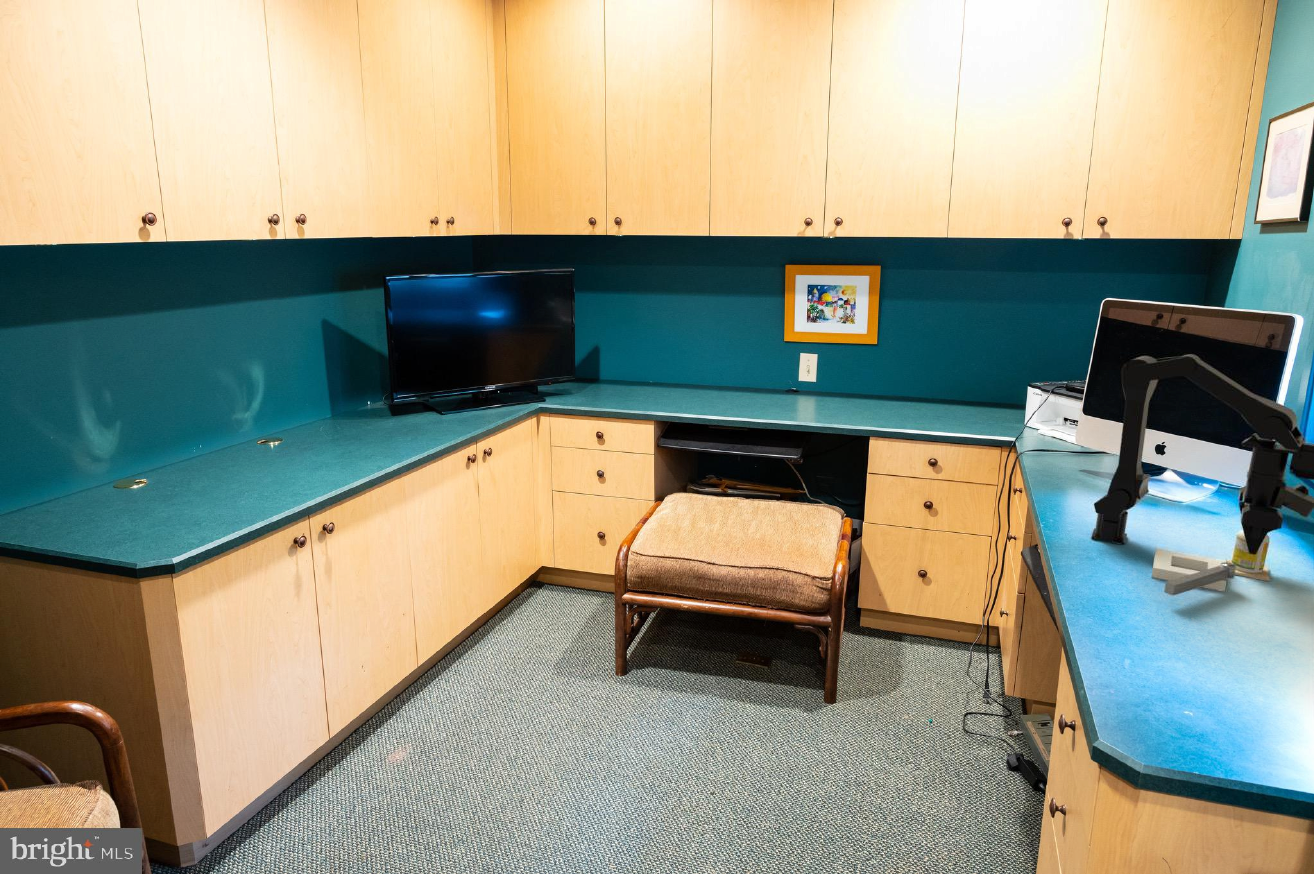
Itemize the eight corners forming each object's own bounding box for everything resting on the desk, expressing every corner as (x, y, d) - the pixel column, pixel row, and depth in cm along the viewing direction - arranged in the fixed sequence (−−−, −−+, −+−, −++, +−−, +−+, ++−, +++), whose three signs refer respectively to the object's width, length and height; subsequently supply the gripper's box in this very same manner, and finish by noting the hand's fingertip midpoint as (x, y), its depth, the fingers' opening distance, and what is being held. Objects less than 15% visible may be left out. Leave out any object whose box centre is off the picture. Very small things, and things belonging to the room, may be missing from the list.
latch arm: (1223, 572, 165) (1225, 561, 165) (1236, 576, 163) (1238, 566, 163) (1161, 591, 156) (1163, 580, 156) (1174, 596, 154) (1176, 585, 154)
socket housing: (1154, 557, 178) (1156, 548, 178) (1223, 569, 172) (1225, 560, 172) (1151, 577, 168) (1153, 567, 168) (1224, 591, 162) (1226, 581, 162)
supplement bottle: (1241, 573, 169) (1251, 527, 167) (1224, 562, 174) (1233, 517, 172) (1269, 574, 169) (1279, 528, 167) (1251, 563, 174) (1260, 518, 172)
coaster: (1225, 561, 177) (1226, 559, 176) (1267, 568, 173) (1267, 566, 173) (1226, 573, 171) (1226, 570, 171) (1269, 581, 167) (1269, 578, 167)
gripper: (1324, 491, 155) (1306, 572, 159) (1313, 466, 170) (1297, 541, 174) (1249, 481, 160) (1234, 559, 164) (1245, 458, 176) (1231, 530, 180)
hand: (1251, 547), depth 171 cm, fingers open, 8 cm apart
